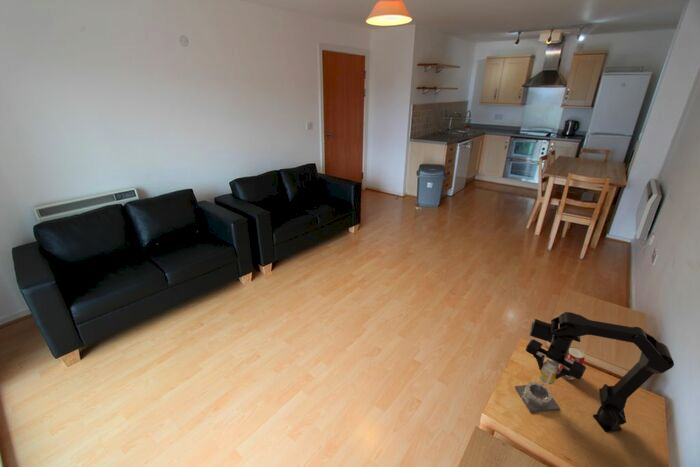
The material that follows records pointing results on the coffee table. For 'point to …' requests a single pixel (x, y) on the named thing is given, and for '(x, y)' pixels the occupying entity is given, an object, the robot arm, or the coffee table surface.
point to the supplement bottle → (549, 372)
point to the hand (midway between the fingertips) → (548, 373)
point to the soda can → (573, 355)
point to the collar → (537, 397)
